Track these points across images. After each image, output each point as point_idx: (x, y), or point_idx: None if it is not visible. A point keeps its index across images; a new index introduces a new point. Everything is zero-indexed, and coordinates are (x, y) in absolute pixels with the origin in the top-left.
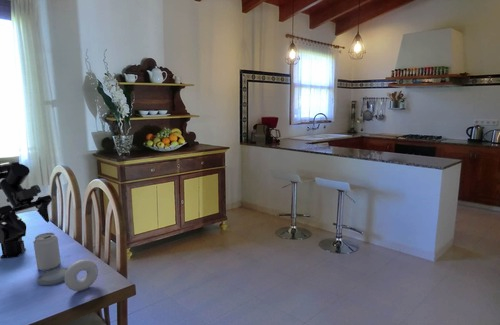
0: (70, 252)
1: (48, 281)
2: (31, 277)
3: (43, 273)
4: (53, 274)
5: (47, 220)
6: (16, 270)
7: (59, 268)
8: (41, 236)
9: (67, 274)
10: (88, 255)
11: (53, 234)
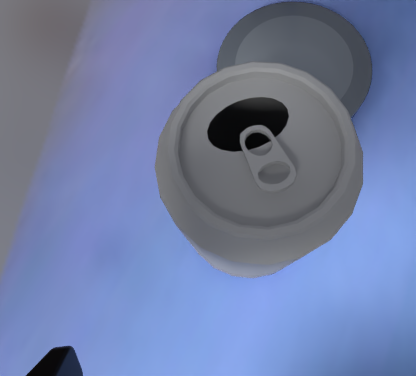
0: (73, 291)
1: (341, 31)
2: (364, 174)
3: None
4: None
5: (66, 370)
6: (390, 343)
7: None
8: (289, 162)
9: None
10: (54, 157)
11: (180, 135)
